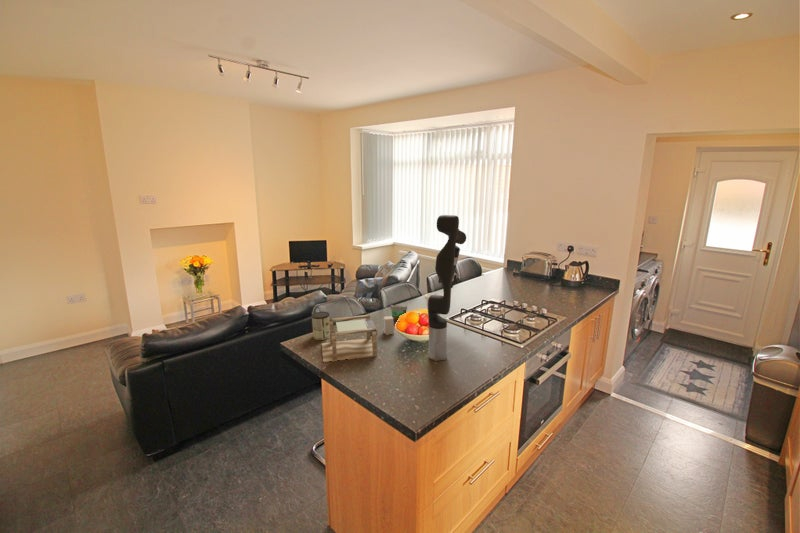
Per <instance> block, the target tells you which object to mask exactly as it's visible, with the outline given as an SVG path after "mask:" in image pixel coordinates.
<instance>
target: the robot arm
mask: <svg viewBox="0 0 800 533" xmlns="http://www.w3.org/2000/svg"><path fill="white" fill-rule="evenodd" d="M459 225H460V219H459V216H458V215H451V214H442V215H438V217H437V219H436V229H437V231H438V232H439V233H441V234H445V236H448V239H447V241H446V243H445V244H444V246H443V247H442V249H440V251H439V252H438V253H437V255H436V259H435V273H436V276H437V277H438V283H439V284H441V286H442V289H443V292H442V293H443V294H442V295H443V296H438V295H431V296H430V297H429V299H428V311H427V317H428V358H429V359H430V360H433V361H434V362H439V361H445V360H447V352H448V351H447V346H448V345H447V343H448V339H447V338H448V337H447V336H448V335H447V332H448V321H447V320H446V319H445V318H444V317H442V316H441V315H448V314H449V313H450V309H451V298H452V297H451V296H452V289H453V287H454V285H455V284H457V283H458V278H459V274H456V273H455V271H456V269H457V265H458V260H459V255H460V251H461V248H460V247H459V246H457V244H458V245H463V244H464V243H465V242H466V241H467V235H466V233H465V232H464V231H461V230H460V229H459V228H460V226H459ZM438 314H440V316H439V315H438Z"/></svg>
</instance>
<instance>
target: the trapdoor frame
mask: <svg viewBox="0 0 800 533" xmlns="http://www.w3.org/2000/svg"><path fill="white" fill-rule="evenodd" d="M363 318H365V320H371V316H370V314H365V315H363V314H362V315H354V316H351V315H350V316H344V317H342V316H341V317H333V318H329V325H330V337H329V339H330V342H323V343H322V342H321V351H322V352H321V353H322V354H321V355H322V363H323V362H324V363H329V361H332V362H338V361H337V360H340V361H346V360H345V359H348V360H354V359H355V358H356V359H362V358H363V359H364V358H370V357H377V356H378V345H377V335H376V329H377V327H376V328H370V329H360V330H351V331H341V332H338V331H334V330H335V329H334V322H341V321H351V320H360V319H363ZM368 332H372V336H370V335H369V333H368ZM362 333H363V334H364V333H366V337H365V338H356V339H347V340H341V341H339V340H338V341H337V336H341V335H343V336H344V335H352V334H362Z"/></svg>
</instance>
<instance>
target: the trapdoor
mask: <svg viewBox="0 0 800 533" xmlns="http://www.w3.org/2000/svg"><path fill="white" fill-rule="evenodd" d="M335 325H336V332H341V331H351V330H360V329H370V328H376V336H378V329H377V327H376V325H375V322H374V320H373V319H370V320H366V318H360V319H350V320H341V321H335ZM368 333H369V335H370V336H371V337H372V332H368Z"/></svg>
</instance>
